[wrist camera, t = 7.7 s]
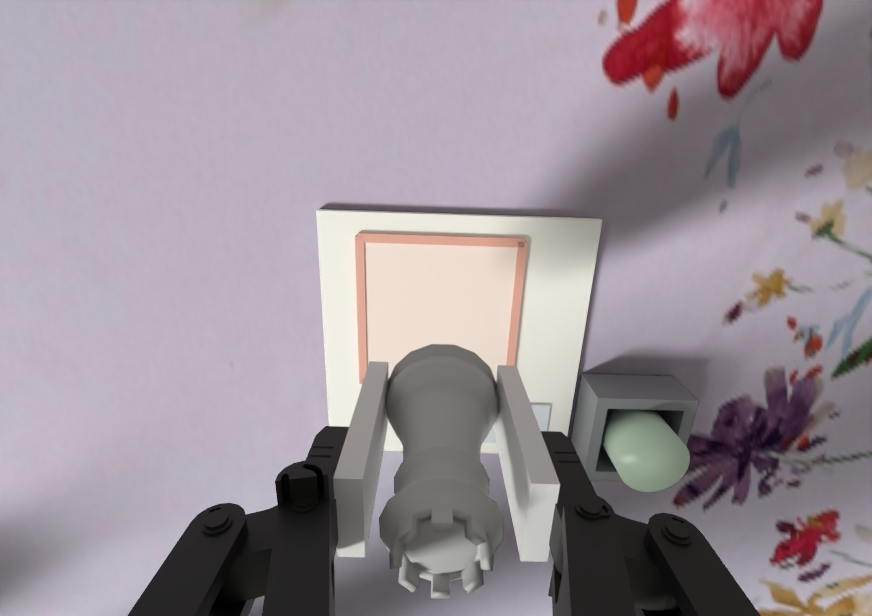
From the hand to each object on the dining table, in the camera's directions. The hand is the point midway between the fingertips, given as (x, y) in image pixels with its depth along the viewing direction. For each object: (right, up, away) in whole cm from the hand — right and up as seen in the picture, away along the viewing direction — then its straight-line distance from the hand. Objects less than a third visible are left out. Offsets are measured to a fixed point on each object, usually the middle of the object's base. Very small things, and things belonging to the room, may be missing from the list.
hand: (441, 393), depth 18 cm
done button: (+12, -4, +10) cm, 17 cm away
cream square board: (+1, +1, +10) cm, 10 cm away
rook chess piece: (0, 0, 0) cm, 0 cm away
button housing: (+12, -4, +12) cm, 17 cm away
